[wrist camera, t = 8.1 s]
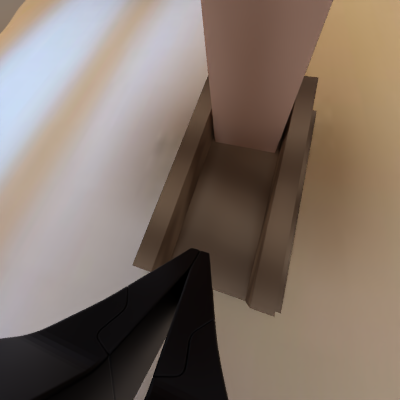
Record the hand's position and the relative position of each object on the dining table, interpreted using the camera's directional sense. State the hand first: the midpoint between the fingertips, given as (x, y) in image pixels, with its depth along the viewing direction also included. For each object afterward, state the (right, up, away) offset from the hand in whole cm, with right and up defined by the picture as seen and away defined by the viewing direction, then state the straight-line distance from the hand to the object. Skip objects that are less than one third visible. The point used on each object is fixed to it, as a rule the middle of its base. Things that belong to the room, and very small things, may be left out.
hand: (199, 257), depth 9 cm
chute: (+3, +4, +8) cm, 9 cm away
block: (+4, +9, +9) cm, 13 cm away
